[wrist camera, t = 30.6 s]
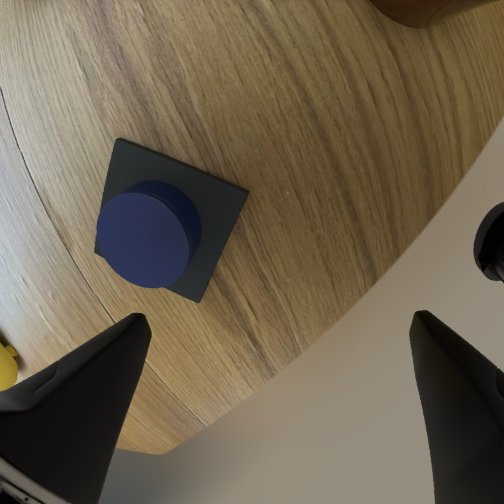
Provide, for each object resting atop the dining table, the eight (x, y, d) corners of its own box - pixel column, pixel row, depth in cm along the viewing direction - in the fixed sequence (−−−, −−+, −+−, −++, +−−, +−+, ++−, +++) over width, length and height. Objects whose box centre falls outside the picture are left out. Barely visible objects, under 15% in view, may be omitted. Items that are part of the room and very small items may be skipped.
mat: (249, 191, 19) (248, 193, 18) (200, 299, 24) (199, 304, 23) (120, 137, 18) (115, 138, 17) (97, 249, 23) (93, 252, 22)
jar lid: (110, 245, 22) (91, 263, 19) (124, 166, 18) (102, 177, 16) (187, 280, 22) (175, 303, 20) (215, 202, 19) (203, 218, 16)
